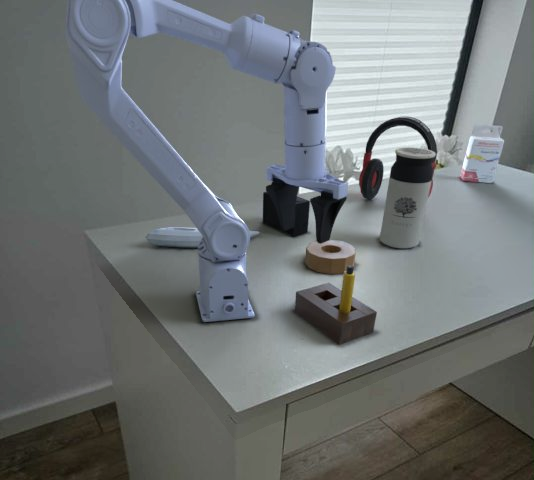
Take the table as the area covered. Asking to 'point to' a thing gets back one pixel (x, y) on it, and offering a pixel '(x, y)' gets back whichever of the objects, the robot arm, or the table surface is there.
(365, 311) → the pencil stand
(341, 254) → the tape roll
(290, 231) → the digital camera
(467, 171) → the ink cartridge box
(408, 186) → the travel mug
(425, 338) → the table surface
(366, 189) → the headphones
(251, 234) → the spaceship
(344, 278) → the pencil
